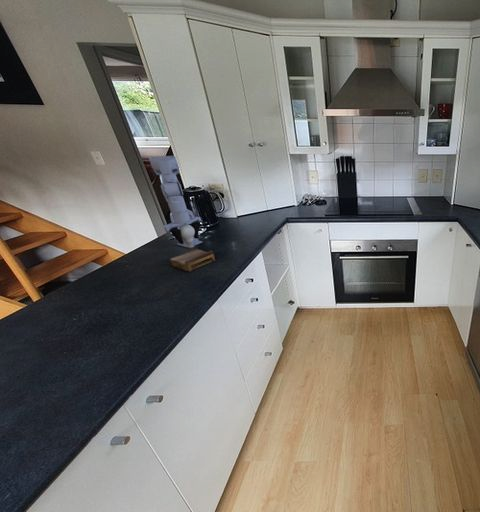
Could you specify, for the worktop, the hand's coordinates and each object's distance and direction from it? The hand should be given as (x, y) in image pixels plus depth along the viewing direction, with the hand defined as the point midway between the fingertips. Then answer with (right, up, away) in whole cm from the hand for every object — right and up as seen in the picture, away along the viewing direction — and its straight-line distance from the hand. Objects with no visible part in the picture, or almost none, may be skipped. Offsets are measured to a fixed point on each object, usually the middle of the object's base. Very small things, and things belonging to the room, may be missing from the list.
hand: (189, 240), depth 122 cm
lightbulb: (0, -3, +2) cm, 4 cm away
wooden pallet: (0, -10, +3) cm, 11 cm away
